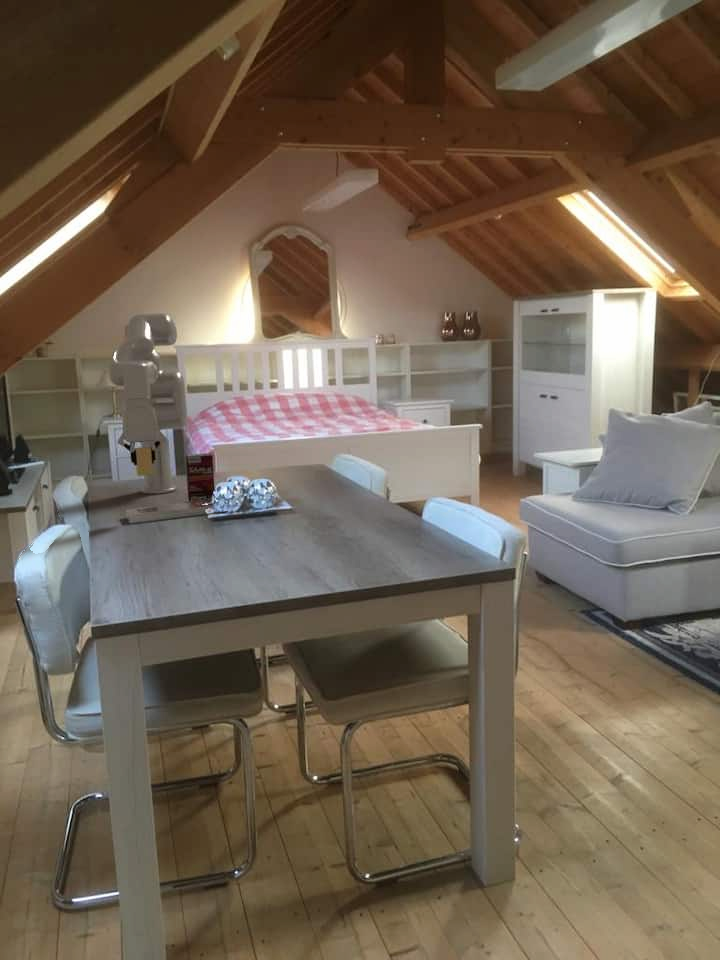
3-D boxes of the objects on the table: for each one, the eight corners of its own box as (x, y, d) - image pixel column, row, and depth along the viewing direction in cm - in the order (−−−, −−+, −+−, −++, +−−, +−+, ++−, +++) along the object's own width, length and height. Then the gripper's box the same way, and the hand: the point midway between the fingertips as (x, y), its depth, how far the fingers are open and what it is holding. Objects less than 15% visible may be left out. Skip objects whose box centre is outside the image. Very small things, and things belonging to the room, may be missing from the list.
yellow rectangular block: (136, 473, 248) (134, 448, 247) (150, 472, 250) (148, 446, 248) (138, 476, 244) (135, 449, 243) (153, 474, 246) (150, 448, 244)
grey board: (126, 517, 252) (125, 509, 251) (221, 506, 263) (221, 498, 262) (130, 523, 243) (129, 514, 243) (228, 511, 254) (227, 503, 254)
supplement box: (190, 504, 268) (186, 456, 265) (188, 501, 272) (184, 454, 269) (216, 501, 270) (212, 454, 267) (214, 498, 275) (210, 452, 272)
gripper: (164, 401, 250) (169, 459, 253) (108, 405, 243) (113, 464, 247) (168, 403, 243) (173, 463, 246) (110, 407, 237) (116, 468, 240)
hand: (143, 463), depth 247 cm, fingers closed on yellow rectangular block, 4 cm apart
